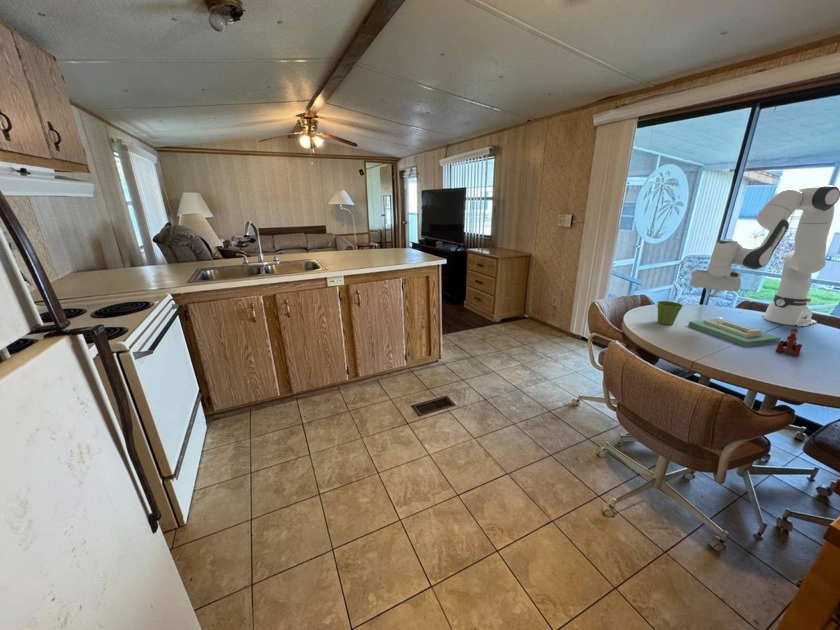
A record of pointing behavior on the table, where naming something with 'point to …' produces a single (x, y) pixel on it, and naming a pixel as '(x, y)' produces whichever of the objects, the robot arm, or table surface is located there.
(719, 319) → the ball
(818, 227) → the robot arm
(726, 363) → the table surface
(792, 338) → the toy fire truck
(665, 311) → the plant pot
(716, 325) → the putting mat
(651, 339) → the table surface
